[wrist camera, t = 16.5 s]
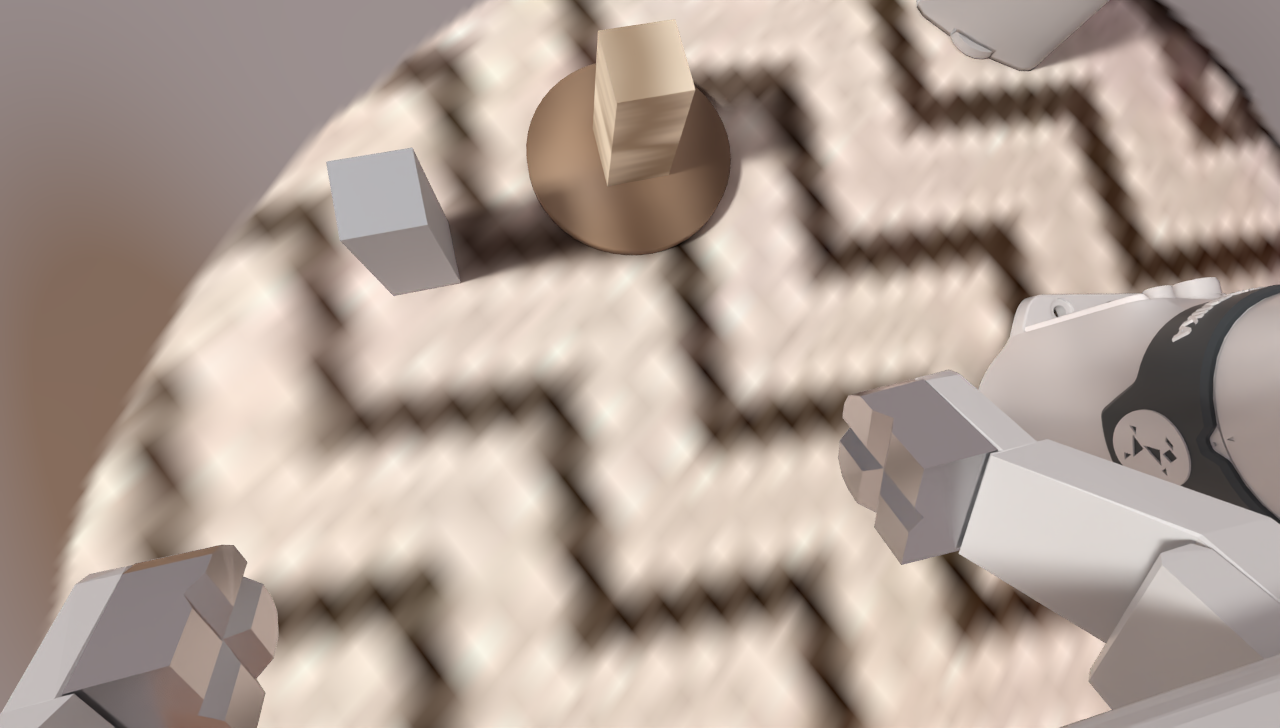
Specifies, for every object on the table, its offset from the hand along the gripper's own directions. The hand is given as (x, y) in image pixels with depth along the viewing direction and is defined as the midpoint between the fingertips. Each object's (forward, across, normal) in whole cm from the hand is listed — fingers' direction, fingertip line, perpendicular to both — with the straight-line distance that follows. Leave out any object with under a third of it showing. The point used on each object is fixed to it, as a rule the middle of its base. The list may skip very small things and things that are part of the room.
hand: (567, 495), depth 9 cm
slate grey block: (+32, +6, +10) cm, 34 cm away
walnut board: (+34, -8, +7) cm, 36 cm away
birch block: (+34, -8, +6) cm, 35 cm away
